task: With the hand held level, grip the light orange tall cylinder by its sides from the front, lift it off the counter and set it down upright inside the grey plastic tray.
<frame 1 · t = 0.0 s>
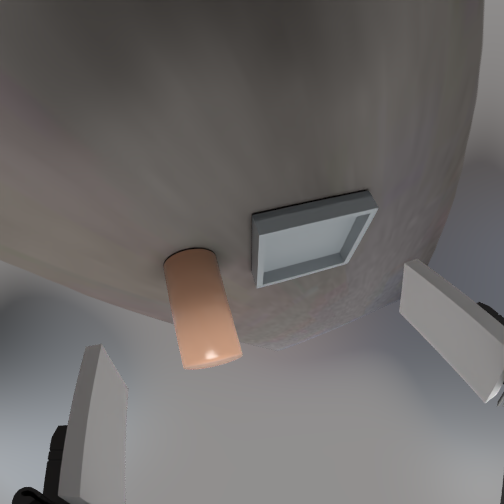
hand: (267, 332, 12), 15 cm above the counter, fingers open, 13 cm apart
light orange tall cylinder: (190, 263, 37), on the counter
grey tray: (305, 235, 39), on the counter
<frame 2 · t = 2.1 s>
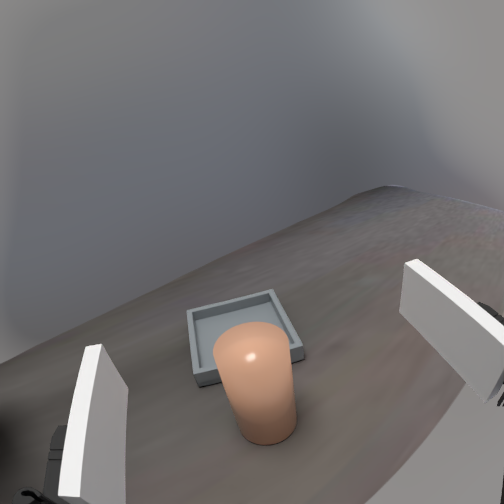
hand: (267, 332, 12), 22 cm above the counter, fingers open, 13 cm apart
light orange tall cylinder: (267, 420, 31), on the counter
grey tray: (241, 340, 44), on the counter
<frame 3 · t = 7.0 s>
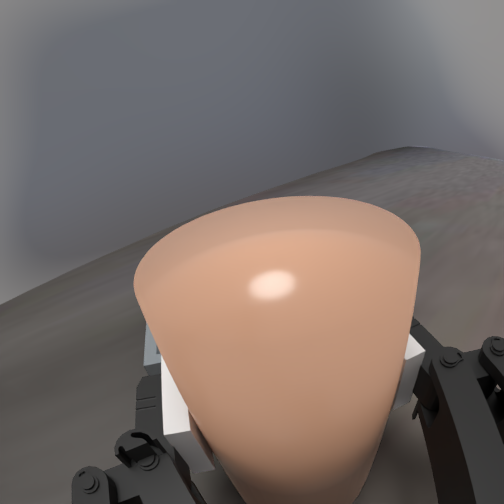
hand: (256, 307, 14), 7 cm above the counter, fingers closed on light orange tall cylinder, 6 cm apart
light orange tall cylinder: (301, 468, 12), on the counter, touching gripper
grey tray: (240, 308, 25), on the counter
when the fingers open (9 cm above the counter, at t = 12.5 s): light orange tall cylinder drops 1 cm, resting on grey tray.
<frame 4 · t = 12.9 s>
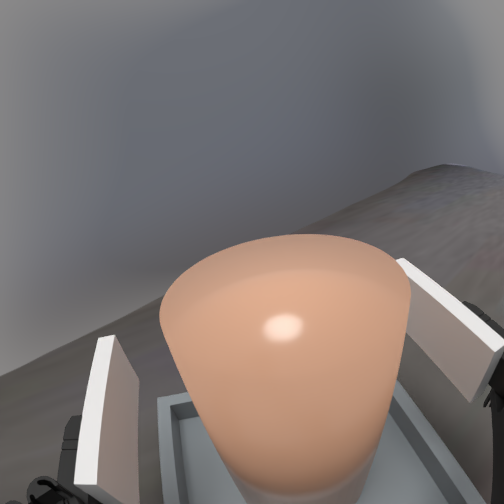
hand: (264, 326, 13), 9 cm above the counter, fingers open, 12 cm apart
light orange tall cylinder: (303, 478, 13), point 1 cm above the counter, touching grey tray
grey tray: (303, 483, 13), on the counter
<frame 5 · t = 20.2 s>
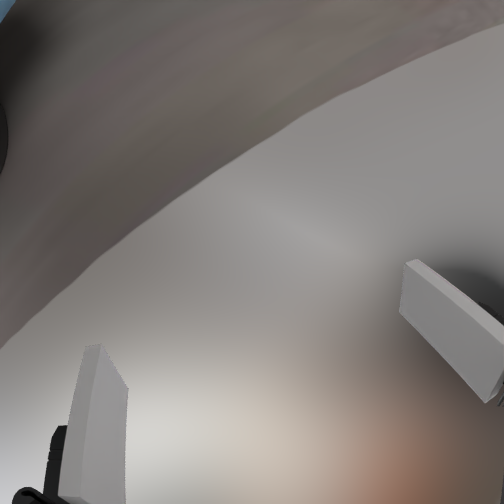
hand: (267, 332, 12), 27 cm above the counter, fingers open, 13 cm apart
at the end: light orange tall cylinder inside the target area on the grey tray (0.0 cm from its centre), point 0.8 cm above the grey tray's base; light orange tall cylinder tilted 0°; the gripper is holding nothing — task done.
